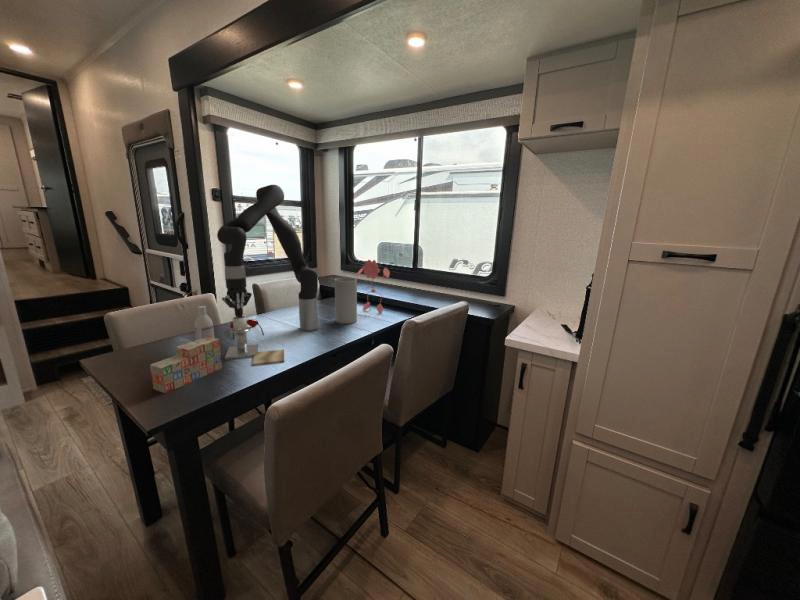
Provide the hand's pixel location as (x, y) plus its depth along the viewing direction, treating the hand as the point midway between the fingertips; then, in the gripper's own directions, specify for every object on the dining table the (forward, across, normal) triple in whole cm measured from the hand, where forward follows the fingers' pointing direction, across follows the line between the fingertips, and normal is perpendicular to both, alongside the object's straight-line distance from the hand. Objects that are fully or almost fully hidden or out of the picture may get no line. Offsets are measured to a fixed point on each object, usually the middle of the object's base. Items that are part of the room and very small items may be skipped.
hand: (239, 316), depth 134 cm
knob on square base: (+16, 0, 0) cm, 17 cm away
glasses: (+17, -19, -20) cm, 33 cm away
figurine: (+16, -82, +17) cm, 85 cm away
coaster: (+16, -2, +14) cm, 22 cm away
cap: (+6, 0, 0) cm, 6 cm away
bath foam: (+17, +6, -15) cm, 23 cm away
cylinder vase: (+16, -61, +13) cm, 64 cm away
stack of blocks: (+17, +24, +3) cm, 30 cm away
